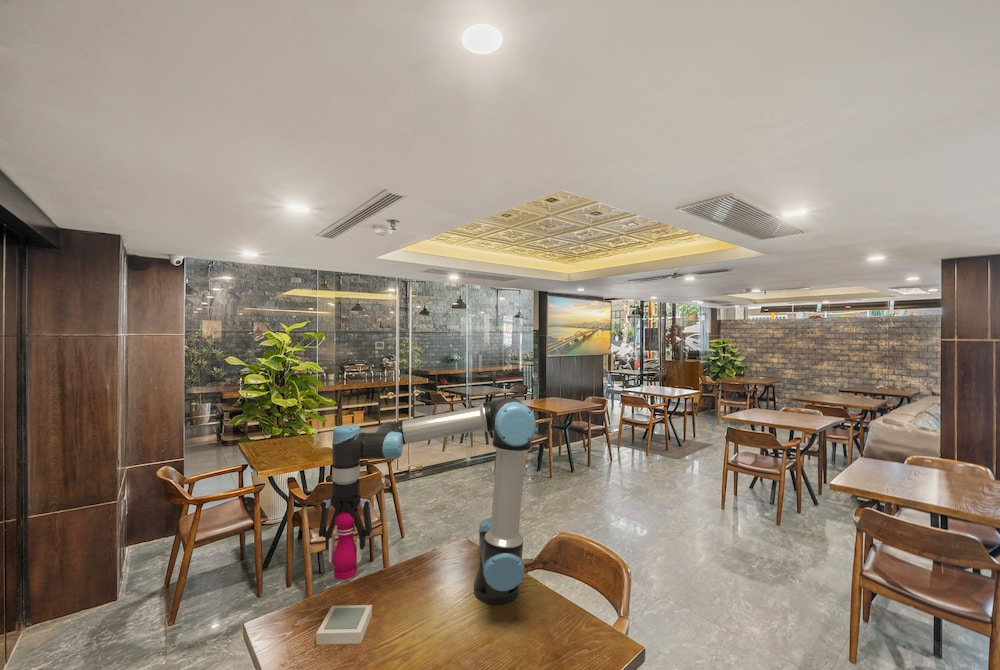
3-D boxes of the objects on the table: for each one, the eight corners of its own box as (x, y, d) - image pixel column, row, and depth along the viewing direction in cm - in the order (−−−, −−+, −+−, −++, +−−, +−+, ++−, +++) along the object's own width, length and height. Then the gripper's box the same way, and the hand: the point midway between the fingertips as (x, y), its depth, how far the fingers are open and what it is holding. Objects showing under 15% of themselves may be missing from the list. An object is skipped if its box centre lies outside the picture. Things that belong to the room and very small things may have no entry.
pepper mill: (350, 582, 118) (350, 510, 119) (326, 579, 120) (327, 508, 120) (363, 568, 126) (363, 500, 126) (341, 565, 127) (341, 498, 127)
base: (372, 614, 129) (372, 604, 129) (360, 643, 117) (360, 631, 117) (331, 615, 128) (331, 604, 128) (316, 644, 116) (316, 632, 116)
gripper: (384, 475, 127) (383, 552, 127) (315, 476, 126) (315, 553, 126) (378, 484, 120) (377, 566, 119) (305, 484, 119) (304, 567, 119)
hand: (345, 559), depth 123 cm, fingers closed on pepper mill, 7 cm apart
